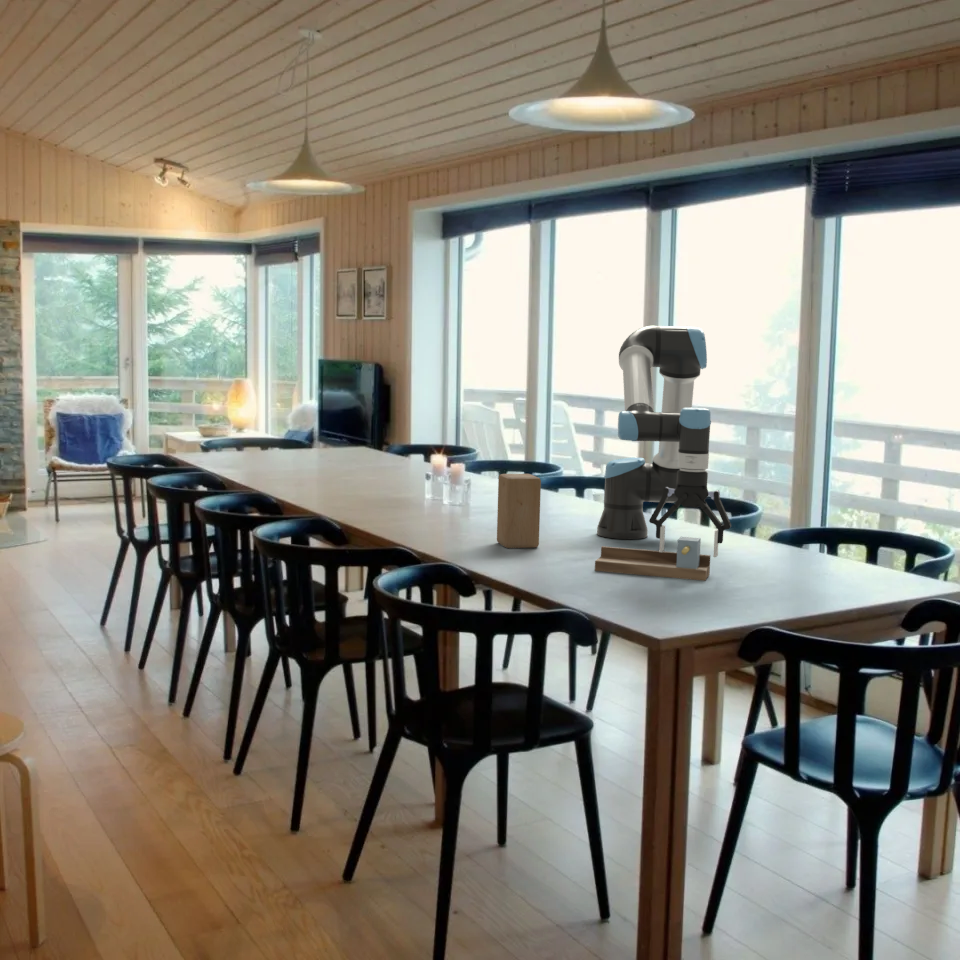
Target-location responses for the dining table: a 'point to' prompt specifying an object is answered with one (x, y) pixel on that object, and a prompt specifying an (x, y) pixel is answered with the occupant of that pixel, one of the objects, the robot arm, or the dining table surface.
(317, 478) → the dining table surface
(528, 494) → the wooden block
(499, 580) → the dining table surface
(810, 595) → the dining table surface
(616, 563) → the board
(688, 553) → the grey cube mallet
